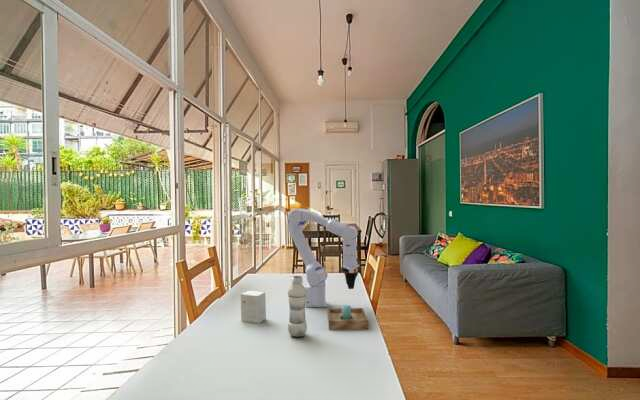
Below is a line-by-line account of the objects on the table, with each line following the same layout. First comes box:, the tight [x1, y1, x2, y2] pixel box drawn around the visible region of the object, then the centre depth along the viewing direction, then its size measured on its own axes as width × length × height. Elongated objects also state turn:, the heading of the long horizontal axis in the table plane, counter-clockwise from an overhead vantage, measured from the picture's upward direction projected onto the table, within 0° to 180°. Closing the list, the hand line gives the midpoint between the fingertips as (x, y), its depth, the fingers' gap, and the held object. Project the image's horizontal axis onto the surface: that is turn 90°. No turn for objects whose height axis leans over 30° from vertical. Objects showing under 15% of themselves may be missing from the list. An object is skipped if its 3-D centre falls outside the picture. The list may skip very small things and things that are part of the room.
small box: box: [240, 290, 267, 324], centre depth 134 cm, size 8×6×10 cm
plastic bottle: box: [287, 275, 308, 338], centre depth 118 cm, size 6×7×20 cm
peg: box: [341, 304, 352, 320], centre depth 130 cm, size 3×3×6 cm
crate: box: [327, 307, 369, 331], centre depth 131 cm, size 14×14×3 cm
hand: (350, 286), depth 148 cm, fingers open, 7 cm apart
